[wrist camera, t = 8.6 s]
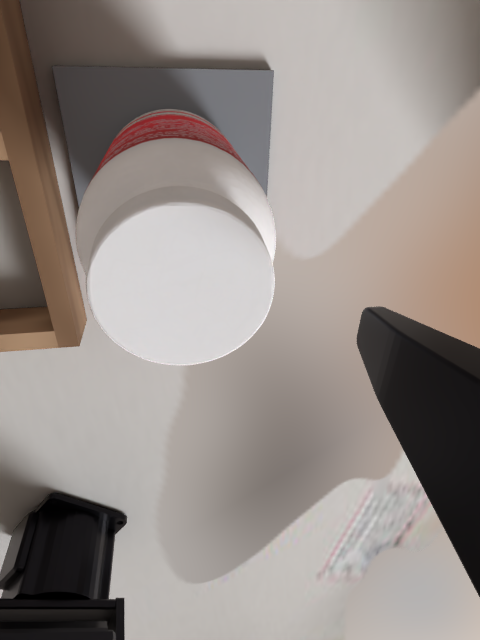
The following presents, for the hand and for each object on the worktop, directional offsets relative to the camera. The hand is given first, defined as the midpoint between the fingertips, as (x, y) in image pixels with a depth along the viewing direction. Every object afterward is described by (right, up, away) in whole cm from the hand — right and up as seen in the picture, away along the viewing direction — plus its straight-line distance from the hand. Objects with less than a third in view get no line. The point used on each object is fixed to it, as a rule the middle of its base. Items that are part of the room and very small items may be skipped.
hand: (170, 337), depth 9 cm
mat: (-2, +7, +11) cm, 13 cm away
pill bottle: (-2, +7, +10) cm, 13 cm away
